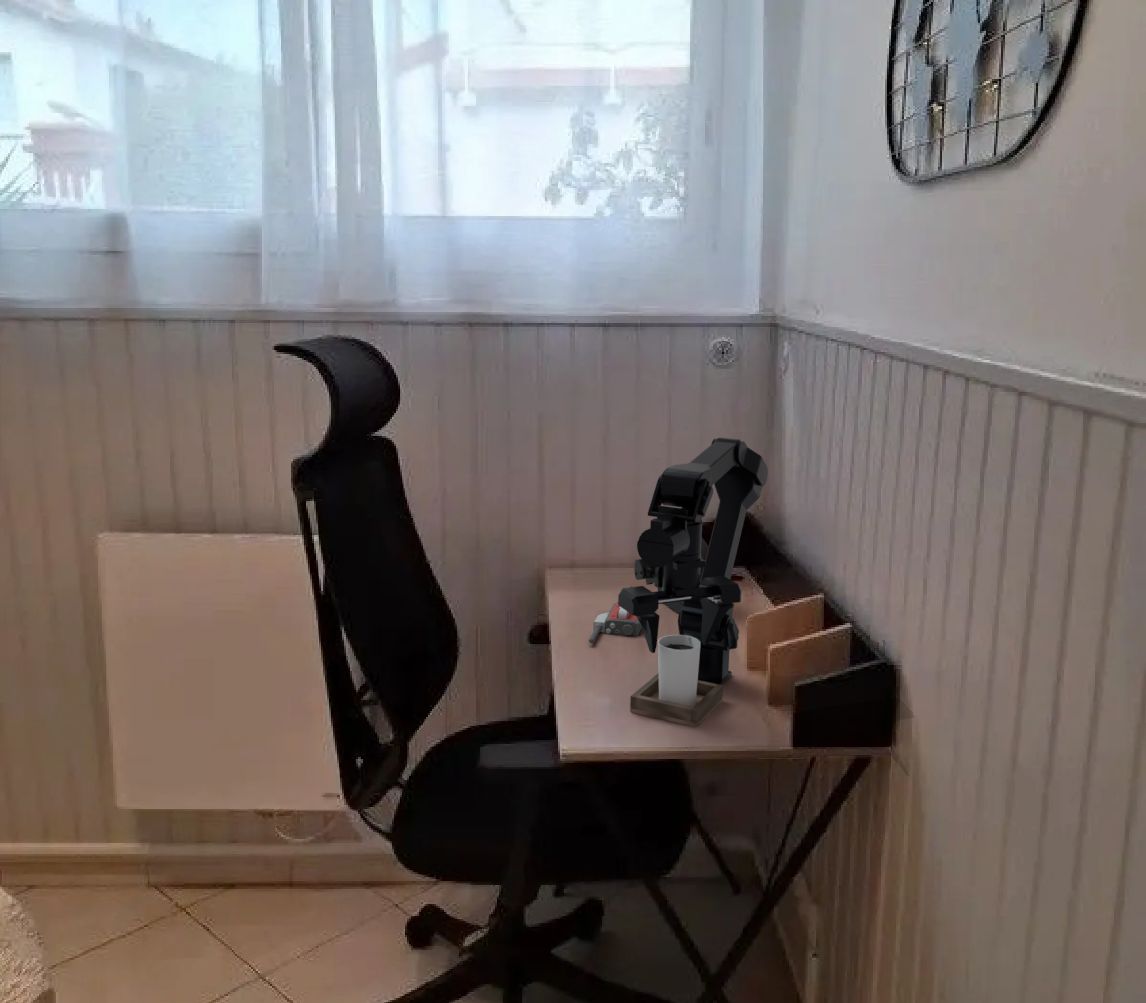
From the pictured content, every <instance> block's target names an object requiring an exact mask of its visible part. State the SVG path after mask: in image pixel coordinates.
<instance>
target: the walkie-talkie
mask: <svg viewBox="0 0 1146 1003" xmlns="http://www.w3.org/2000/svg"><path fill="white" fill-rule="evenodd" d="M592 623H593V624H592V627H593V628H592V630H593V631H592V633H591V635H590V636H589V639H588V642H589V644H594V643H595V641H596V640H597V638H598V636H599V633H605V634H607V635H608V634H609V635H610V634H611V635H613V634H614V635H623V636H627V637H628V636H636V637H637V636H639V634H640V633H641V631H642V627H641V625H640V622H639V620H638V618H637V617H636V616H634V615H632V614H630V613H629V612H627V611H626V610H625V609H623V608H622V607H620V606H619V605H618V601H617V602H614V603H613V605H612V606H611V609H610V610H609V612H603V613H601V614H598V615H597V617H596V618H595V620H594V621H593V622H592Z"/></svg>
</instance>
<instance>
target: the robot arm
mask: <svg viewBox="0 0 1146 1003" xmlns="http://www.w3.org/2000/svg"><path fill="white" fill-rule="evenodd" d="M768 470H769V469H768V466H767V464H766V462H765V460H764V459H763V456H761V455H760V454H759V453H758V452H756V451H754V450H752V449H751V448H749V447H748V445H747V443H746V442H745V441H744V440H742V439H740V438H739V439H738V438H729V437H720V436H719V437H718V438H713V439H712V441H711V444H710V446H708V447H707V448H706V449H704V451H702V452H701V453H700V454H699V455H697V456H696V457H695V458H693V459H692V460H691V461H690V462H687V463H681V464H674V465H671V466H668V467H666V468H665V469H664V470H663V471H662V473H661V474H660V475H659V476H658V479H657V481H656V484H655V485H656V486H655V488H654V491H653V493H652V494H653V495H652V499H651V501H650V505H649V509H648V511H647V517H648V516H649V517H653V519H651V520H650V524H649V526H650V527H649V528H648V529H646V530H644V531H643V532H642V533H641V534H640V535H639V538H638V540H637V542H636V550H637V553H638V555H639V559H635V560H634V568H633V569H634V570H633V571H634V577H635V579H636V581H640V580H641V581H642V580H645V585H647V586H648V585H653V584H654V585H653V586H654V587H656V588H657V589H658V588H660V587H661V588H662V591H658V590H657V591H651V590H650V589H648V588H647V587H645V586H644V585H639V586H631V587H623V588H622V589H621V590H620V591H619V594H618V598H617V600H618V601H617V602H618V605H619V606H620V607H622V608H623V609H625V610H626V611H627V612H629V613H630V614H632V615H634V616H636V617H637V618H638V620H639V622H640V625H641V627H642V628H641V631H642V633H643V635H644V638H645V641H646V644H647V647H648V650H649V652H650V653H652V654H655V653H656V650H657V647H658V634H659V626H660V625H659V624H660V614H658V613H656V612H657V610H659V605H661V604H664V603H670V602H678V601H684V604H683V607H682V608H681V610H680V612H679V614H678V617H677V626H678V635H686V636H691V637H694V638H696V639H698V640H699V641H700V644H701V645H700V657H699V669H698V680H700V681H705V682H709V683H714V684H719V685H723V684H724V683H725V682H726V681H727V680H728V679H729V678H730V677H732V675H733V671H730V669H729V666H730V650H735V649H737V648H738V641H739V636H740V635H739V634H740V629H739V627H738V625H737V623H736V621H735V619H734V617H733V613H734V607H735V604H737V603H741V602H742V594H743V593H742V592H743V591H742V588H741V586H740V585H739V583H738V582H736V581H734V580H732V579H731V578H732V573H733V570H734V564H735V562H736V561H735V560H736V556H737V552H738V548H739V543H740V540H741V536H742V531H743V527H744V522H745V518H746V514H747V511H748V510H749V509H750V508H751V507H752V506H753V505H754V504H755V503H756V502H757V501H758V500H759V499H760V496H761V494H762V490H763V488H764V486H765V485H766V483H767V482H768V476H769V474H768V473H769V472H768ZM713 486H714V487H713ZM714 488H715V490H716V494H717V497H718V499H719V503H718V506H717V507H718V508H717V512H716V515H715V519H714V523H713V527H712V532H711V536H710V540H709V544H708V547H709V548H708V552H707V556H706V560H703V559H701V541H702V538H703V537H702V535H703V518H705V517H706V513H707V511H708V507H709V506H710V504H711V503H710V502H711V500H712V497H713V495H714ZM654 517H655V518H654ZM701 567H704V568H703V572H702V577H701V580H700V568H701Z"/></svg>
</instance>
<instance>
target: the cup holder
mask: <svg viewBox="0 0 1146 1003" xmlns="http://www.w3.org/2000/svg"><path fill="white" fill-rule="evenodd" d="M723 697H724V685H723V684H722V685H719V684H714V683H709V682H705V681H700V680H698V681H697V693H696V705H695V706H694V707H690V706H686V705H681V704H677V703H672V702H668V701H663V700H659V672H658V673H657V674H655V675H654V676H653V677H652V678H651V679H650V680H648V681H647V682H646V683H645V684H643V685H642V686H641V687H640V688H638V689H637V690H636V691H635V692H634V693H632V694H631V695H630V699H629V700H630V703H629V704H630V706H629V708H630V709H629V710H630V713H635V714H639V715H644V716H646V717H650V718H651V717H652V718H655V719H660V720H665V721H668V722H669V721H670V722H673V723H678V724H680V725H685V724H686V725H685V726H691V727H694V728H698V726H699V725H700V724H701V723H702V722H703V721H704V720H705V719H706V718H707V717H708V716H709V715H710V714H711V713H712V712H713V711H714V710H716V708H717V707H718V706H719V705H720V704H721V703H723V701H724V700H723Z"/></svg>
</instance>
